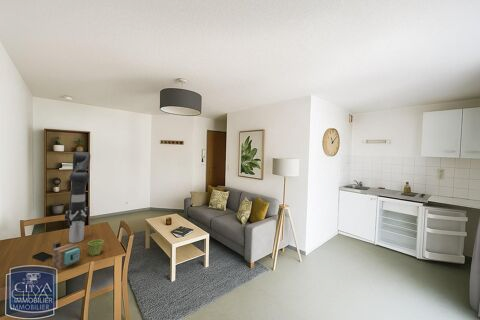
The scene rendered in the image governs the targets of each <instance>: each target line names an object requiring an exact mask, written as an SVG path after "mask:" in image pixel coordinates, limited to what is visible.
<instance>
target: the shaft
mask: <svg viewBox="0 0 480 320" xmlns="http://www.w3.org/2000/svg"><path fill="white" fill-rule="evenodd" d="M58 247H61V242H59V241H57V242H53V243H52V250H53V249H55V248H58ZM77 256H78V254H77V253H75V254H72V255H71V258H72V259H75V258H77Z"/></svg>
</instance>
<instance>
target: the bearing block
mask: <svg viewBox="0 0 480 320" xmlns="http://www.w3.org/2000/svg"><path fill="white" fill-rule="evenodd" d="M79 246H80V245H78V244H74V243H70V242H69V243H67V244H65V245H63V246H61V245H60V247H58V248H55V249H53V248H52V262H51V263H52V265H51V267H52V266H53V268H55V267H56V269H58V270H62V269H64V268H66V267H68V266H71V265H73V264H77V263H78V262H79V260H77V261H75V262H72V263H70V264H64V255H65V252H67V251H70V250H73V249H76V248H78V249H80V248H79Z"/></svg>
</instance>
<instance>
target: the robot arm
mask: <svg viewBox="0 0 480 320" xmlns="http://www.w3.org/2000/svg"><path fill="white" fill-rule="evenodd" d="M90 161H91V153H90V152H86V151H74V152H73V154H72V171H71V173H70V175H69V180H70V183H71V184H70V198H69V204H68V210H66V211H65V213H64V220H66V221H67V225H68V226H69V231H68V232H69V233H68V234H69V235H68V242H69V244H70V243H72V244H74V243H79V242H82V241H84V237H85V222H86V220H87V216H89V215H90V207H88V206H87V202H86V187H87V185H88V182H89V179H90V174H89V173H88V172H87V171H88V166H89V164H90V163H91V162H90Z"/></svg>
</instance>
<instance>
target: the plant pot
mask: <svg viewBox="0 0 480 320" xmlns="http://www.w3.org/2000/svg"><path fill="white" fill-rule="evenodd" d="M103 244H104V240H103V239H94V240H90V241H89V242H87V245H88V249H89V256H92V257H93V256H98V255H100V254H101V251H102V246H103Z"/></svg>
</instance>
